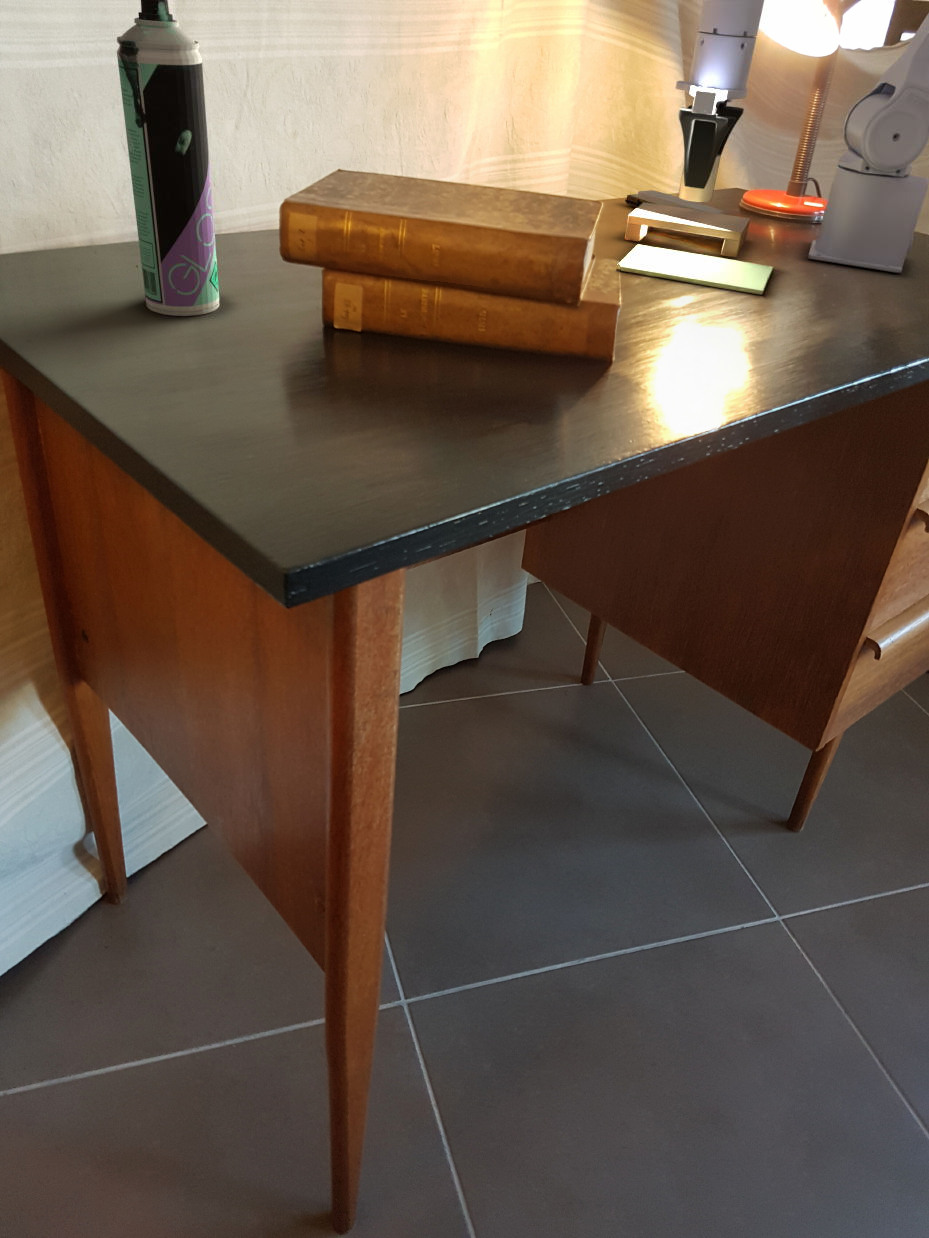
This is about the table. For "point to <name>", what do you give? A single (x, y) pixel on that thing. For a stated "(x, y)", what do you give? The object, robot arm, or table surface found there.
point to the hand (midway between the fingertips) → (697, 184)
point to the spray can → (169, 162)
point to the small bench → (689, 224)
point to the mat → (697, 269)
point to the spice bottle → (697, 193)
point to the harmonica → (667, 201)
